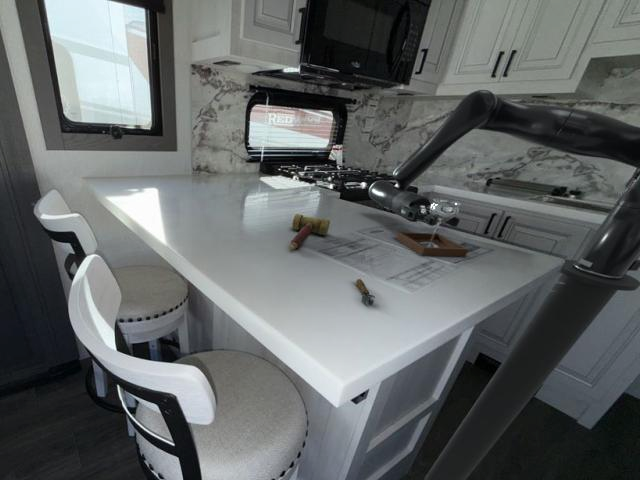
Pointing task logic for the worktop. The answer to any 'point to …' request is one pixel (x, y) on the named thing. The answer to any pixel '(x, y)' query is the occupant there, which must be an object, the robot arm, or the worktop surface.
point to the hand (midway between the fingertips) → (445, 222)
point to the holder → (445, 244)
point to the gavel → (307, 228)
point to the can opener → (365, 292)
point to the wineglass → (442, 214)
